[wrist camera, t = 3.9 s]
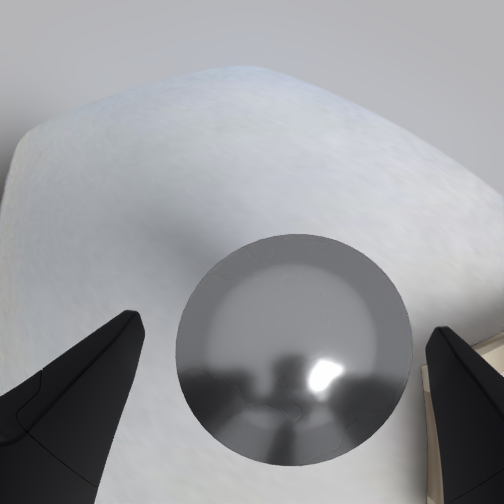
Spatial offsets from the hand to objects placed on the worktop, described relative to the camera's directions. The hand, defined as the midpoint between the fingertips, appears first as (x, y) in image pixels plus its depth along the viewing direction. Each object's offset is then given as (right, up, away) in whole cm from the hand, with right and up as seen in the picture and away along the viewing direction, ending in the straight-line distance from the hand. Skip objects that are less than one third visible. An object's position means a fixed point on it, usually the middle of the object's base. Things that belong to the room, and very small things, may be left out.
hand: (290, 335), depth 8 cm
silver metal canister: (0, -2, +7) cm, 8 cm away
